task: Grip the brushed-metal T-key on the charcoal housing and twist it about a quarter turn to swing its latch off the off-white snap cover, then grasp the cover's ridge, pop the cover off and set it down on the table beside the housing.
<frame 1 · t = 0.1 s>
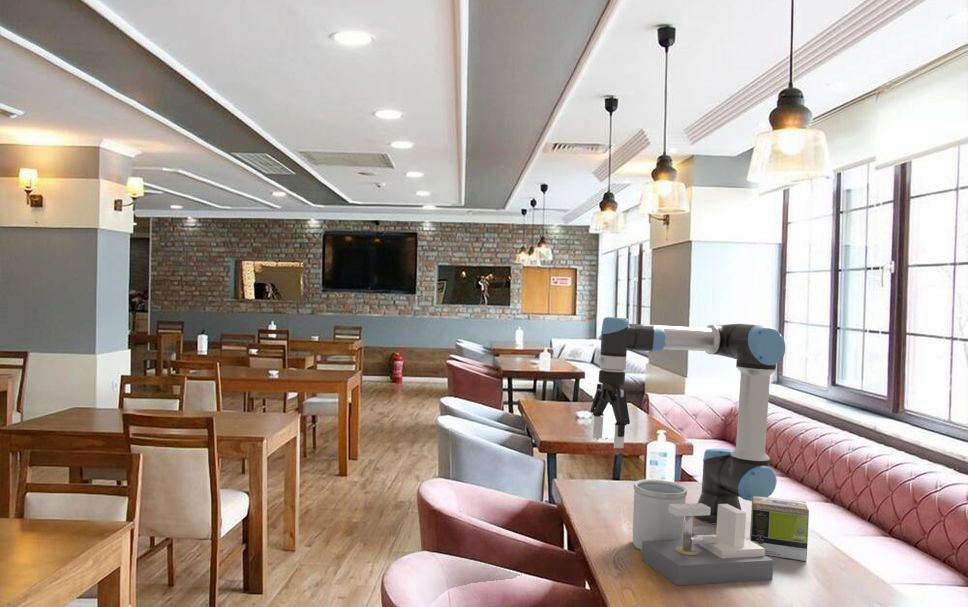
hand: (607, 442, 215), 28 cm above the table, fingers open, 13 cm apart
t key: (694, 527, 193), point 11 cm above the table, hinge at 0.0°
snap cover: (729, 549, 197), point 5 cm above the table, touching housing
utensil holder: (656, 547, 211), on the table
tea box: (776, 553, 212), on the table
housing: (705, 569, 195), on the table
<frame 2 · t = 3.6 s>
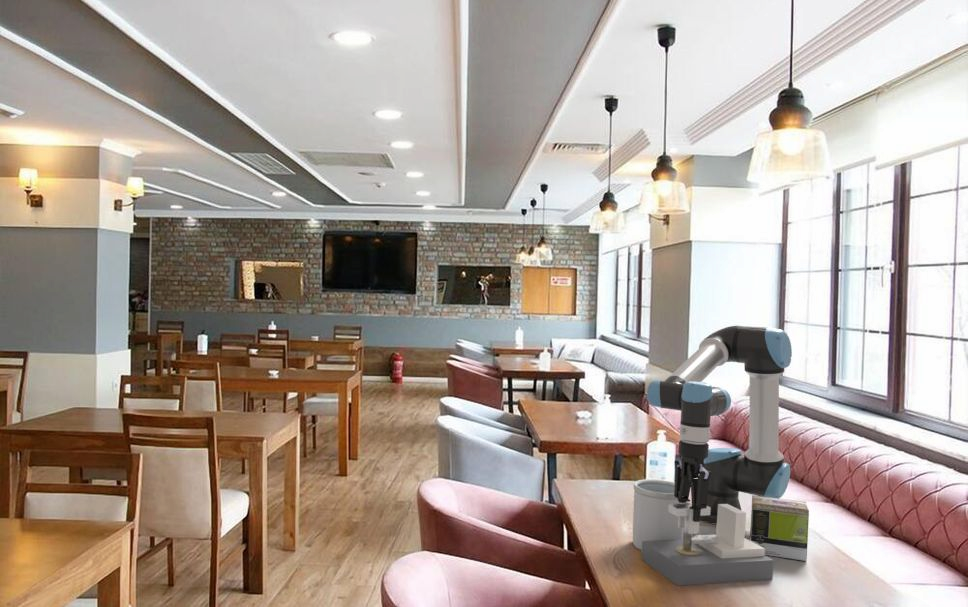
hand: (688, 530, 193), 11 cm above the table, fingers closed on t key, 4 cm apart
t key: (694, 527, 193), point 11 cm above the table, hinge at 0.0°, touching gripper
everything else where it was.
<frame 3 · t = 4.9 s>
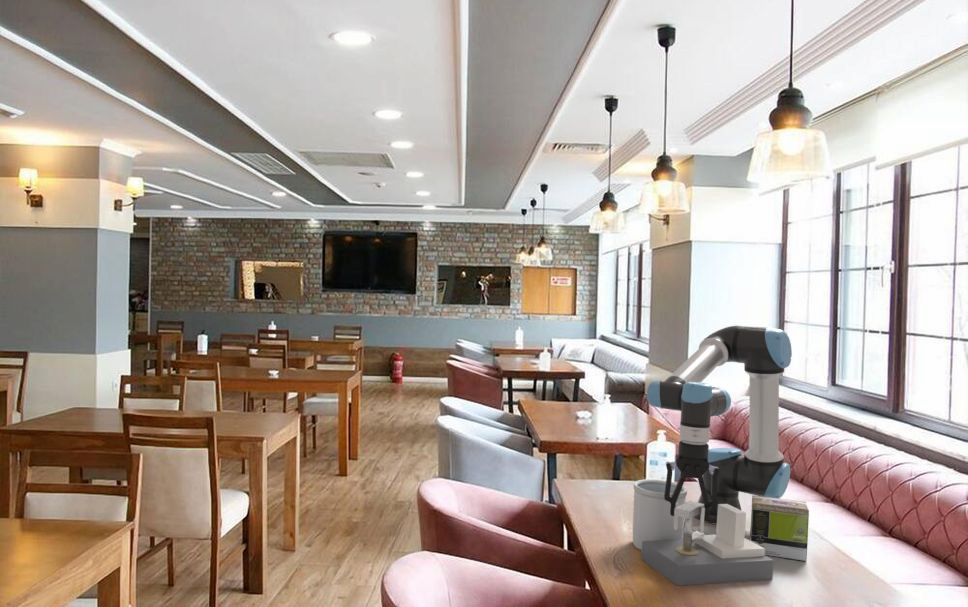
hand: (688, 529, 193), 11 cm above the table, fingers closed on t key, 6 cm apart
t key: (691, 526, 194), point 11 cm above the table, hinge at 34.3°, touching gripper
everything else where it was.
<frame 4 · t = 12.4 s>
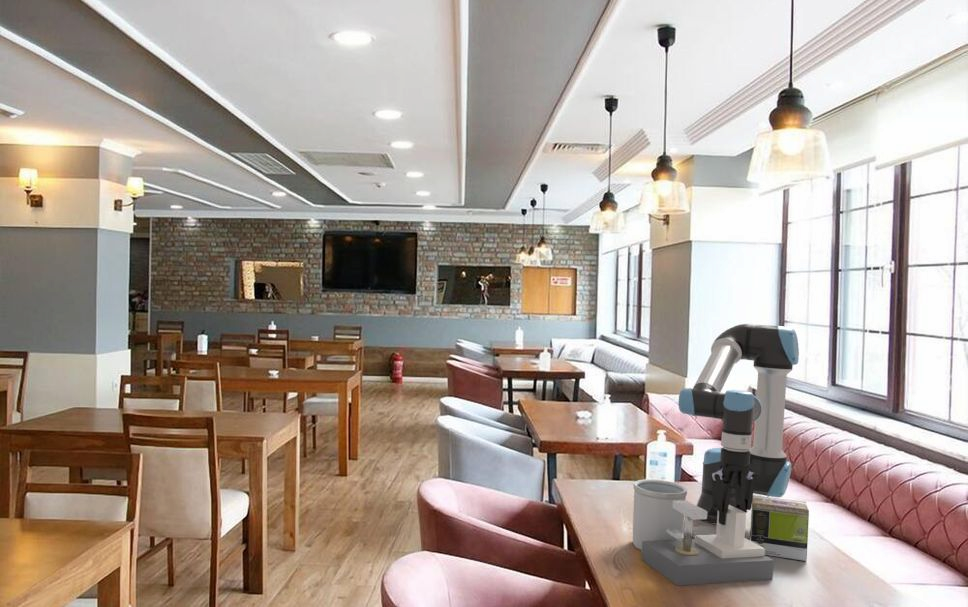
hand: (730, 536, 197), 9 cm above the table, fingers closed on snap cover, 3 cm apart
t key: (684, 525, 194), point 11 cm above the table, hinge at 89.3°
snap cover: (729, 549, 197), point 5 cm above the table, touching gripper
everything else where it was.
when the fingers open (5 cm above the table, at t = 19.6 s): snap cover drops 2 cm, on the table.
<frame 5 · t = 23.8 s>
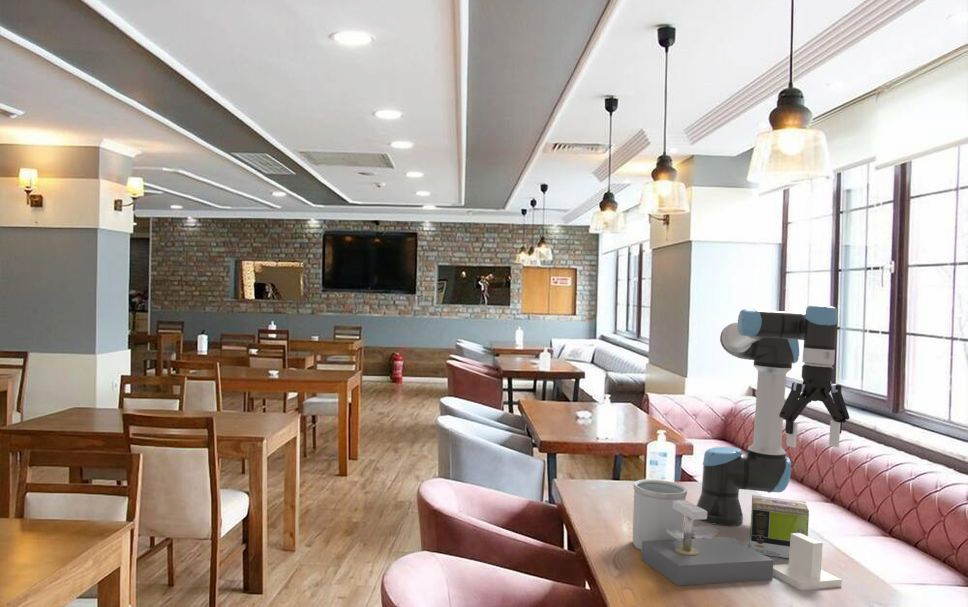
hand: (812, 446, 192), 35 cm above the table, fingers open, 13 cm apart
snap cover: (803, 580, 192), on the table
everything else where it was.
at the end: t key at +89° (first picture: +0°); snap cover touching table; snap cover inside the target area (0.5 cm from its centre), on the table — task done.
